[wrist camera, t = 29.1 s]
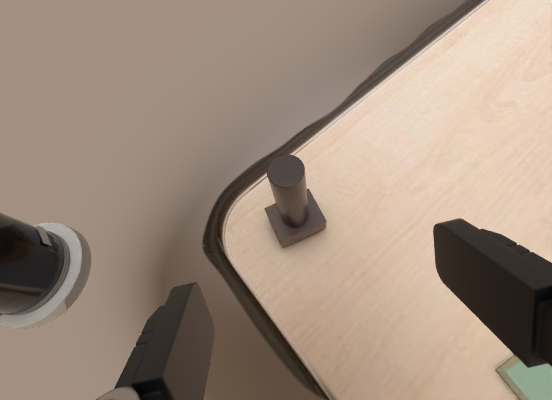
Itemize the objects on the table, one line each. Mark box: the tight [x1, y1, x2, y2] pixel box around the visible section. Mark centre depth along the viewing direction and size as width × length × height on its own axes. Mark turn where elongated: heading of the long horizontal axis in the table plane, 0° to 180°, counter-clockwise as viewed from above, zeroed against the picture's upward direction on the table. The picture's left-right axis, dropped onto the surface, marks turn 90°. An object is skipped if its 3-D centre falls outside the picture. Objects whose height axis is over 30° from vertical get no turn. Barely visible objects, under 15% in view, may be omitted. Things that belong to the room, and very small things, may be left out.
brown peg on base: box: [265, 155, 326, 248], centre depth 27 cm, size 5×4×12 cm
